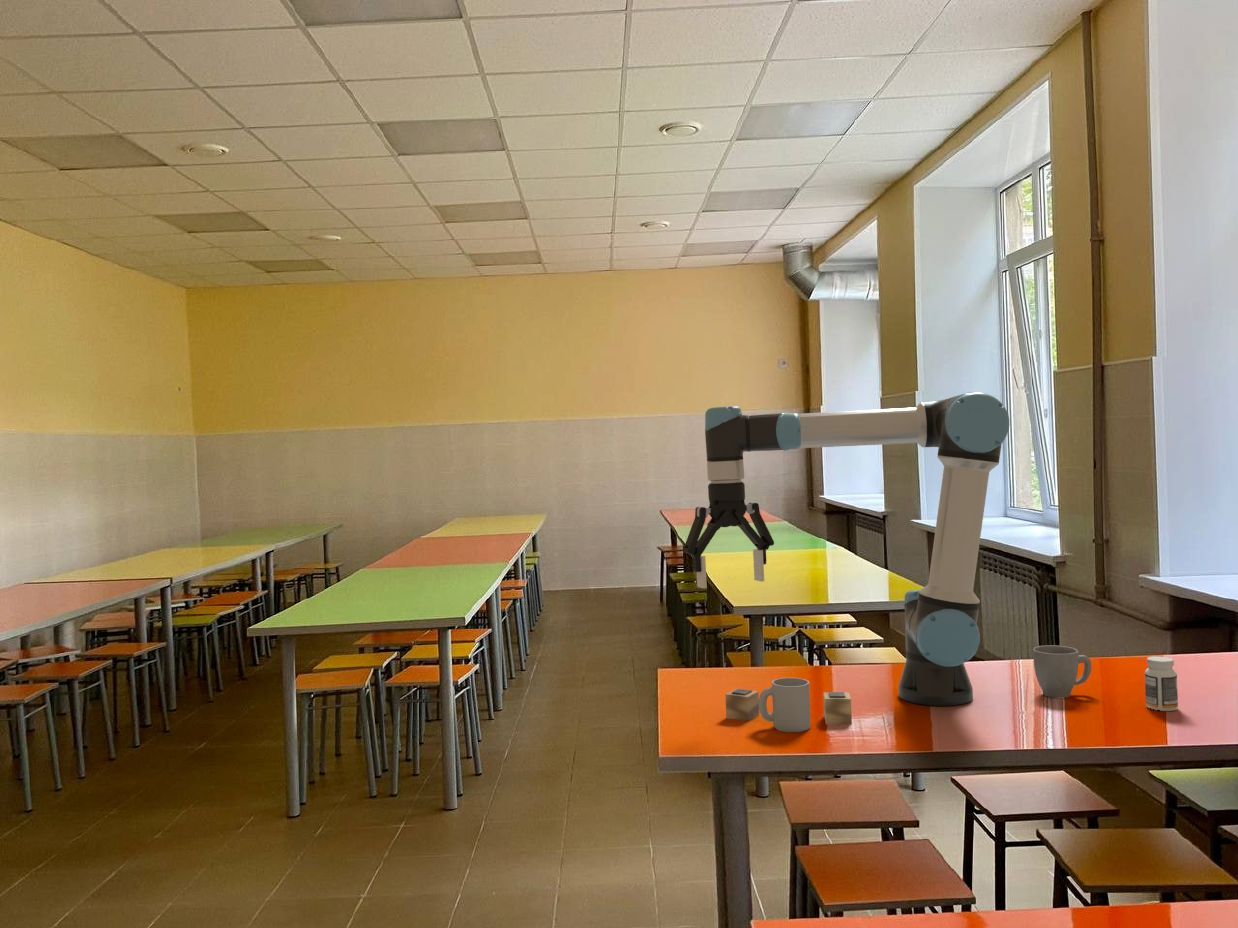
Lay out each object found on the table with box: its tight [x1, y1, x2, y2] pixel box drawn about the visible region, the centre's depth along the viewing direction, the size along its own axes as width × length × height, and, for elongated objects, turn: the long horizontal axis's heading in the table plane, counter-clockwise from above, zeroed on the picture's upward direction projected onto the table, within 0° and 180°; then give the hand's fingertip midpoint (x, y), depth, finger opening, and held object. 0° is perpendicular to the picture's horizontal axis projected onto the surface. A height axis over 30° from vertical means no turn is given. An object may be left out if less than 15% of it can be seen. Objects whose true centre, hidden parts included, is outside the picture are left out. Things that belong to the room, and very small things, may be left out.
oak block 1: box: [725, 688, 760, 722], centre depth 202 cm, size 5×5×5 cm
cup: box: [758, 677, 811, 733], centre depth 193 cm, size 7×10×9 cm
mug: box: [1032, 644, 1093, 699], centre depth 210 cm, size 12×9×10 cm
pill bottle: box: [1144, 655, 1179, 712], centre depth 197 cm, size 6×6×10 cm
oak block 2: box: [823, 691, 853, 725], centre depth 197 cm, size 5×5×5 cm
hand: (731, 584), depth 204 cm, fingers open, 13 cm apart
